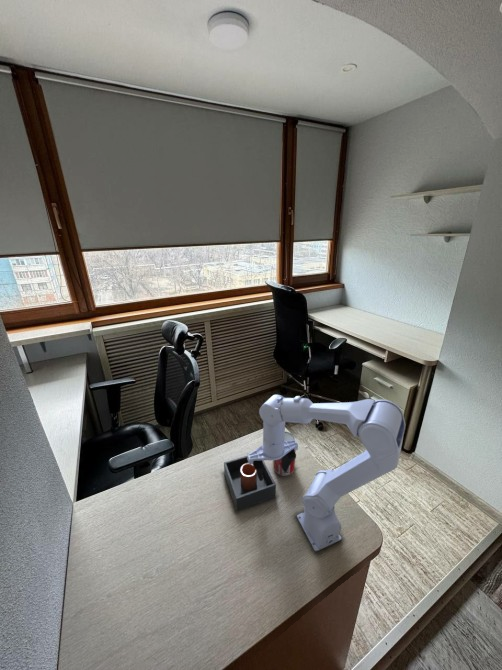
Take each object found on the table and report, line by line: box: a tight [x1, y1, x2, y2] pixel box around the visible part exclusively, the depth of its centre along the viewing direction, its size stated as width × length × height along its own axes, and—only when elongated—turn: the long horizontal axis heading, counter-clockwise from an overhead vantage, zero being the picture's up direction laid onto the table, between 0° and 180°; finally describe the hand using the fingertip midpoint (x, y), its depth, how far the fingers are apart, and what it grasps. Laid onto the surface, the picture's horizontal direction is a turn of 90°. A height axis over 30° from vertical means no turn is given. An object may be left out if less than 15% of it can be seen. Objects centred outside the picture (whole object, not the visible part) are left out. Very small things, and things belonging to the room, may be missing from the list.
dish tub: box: [223, 455, 277, 512], centre depth 83 cm, size 13×12×5 cm
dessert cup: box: [240, 463, 257, 491], centre depth 83 cm, size 5×5×6 cm
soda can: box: [272, 431, 297, 476], centre depth 87 cm, size 7×7×13 cm
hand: (272, 473), depth 77 cm, fingers open, 7 cm apart
